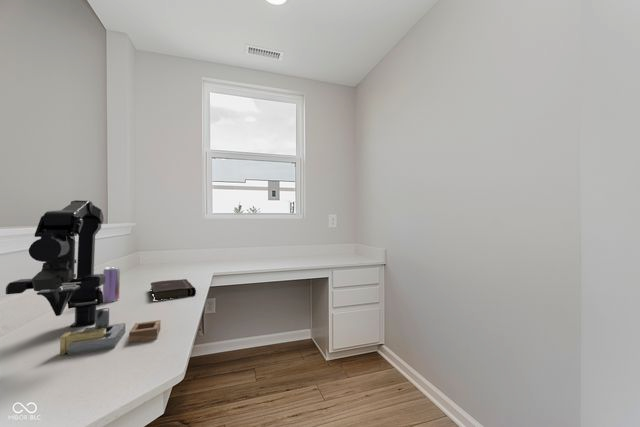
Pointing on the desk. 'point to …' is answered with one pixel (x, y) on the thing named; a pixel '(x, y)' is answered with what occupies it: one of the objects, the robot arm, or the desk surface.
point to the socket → (98, 340)
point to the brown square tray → (144, 331)
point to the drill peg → (102, 319)
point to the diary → (172, 289)
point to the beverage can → (111, 284)
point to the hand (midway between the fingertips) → (58, 315)
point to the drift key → (79, 338)
